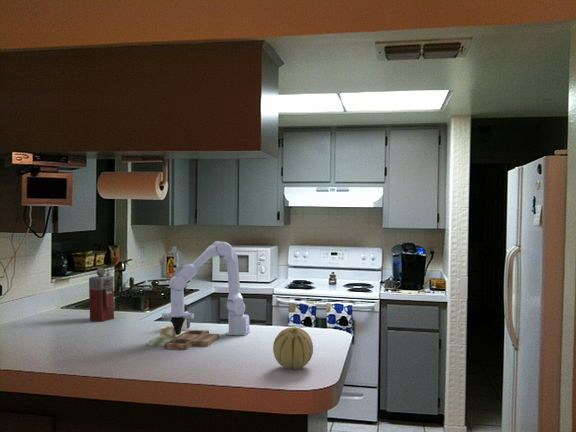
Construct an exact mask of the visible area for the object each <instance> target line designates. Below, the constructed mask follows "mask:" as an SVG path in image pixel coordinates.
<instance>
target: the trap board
mask: <svg viewBox="0 0 576 432" xmlns="http://www.w3.org/2000/svg"><path fill="white" fill-rule="evenodd" d="M219 339H220V333H210V329H209V330H208V329H207V330H204V329H203V330H202V329H188V330H185V331H181V334H179V335H177V336H175V337H174V338H160V334H159V335H158V336H155V337H154V338H152V339H150V340H148V346H151V347H164V349H165V350H188V349H190V348H192V347H209V346H211V345H212V344H213V343H215V342H217V341H218V340H219Z"/></svg>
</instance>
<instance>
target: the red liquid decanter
mask: <svg viewBox="0 0 576 432" xmlns="http://www.w3.org/2000/svg"><path fill="white" fill-rule="evenodd" d="M105 274H106V269H105V268H104V267H99V268H97V269H96V276H92V277H89V278H88V291H89V295H88V296H89V298H88V300H89V321H90V322H99V323H100V322H101V323H102V322H106V321H111V320H113V319H114V320H115V303H114V302H115V300H114V299H115V298H114V297H115V296H114V295H115V294H114V277H113V276H112V275H105Z"/></svg>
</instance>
